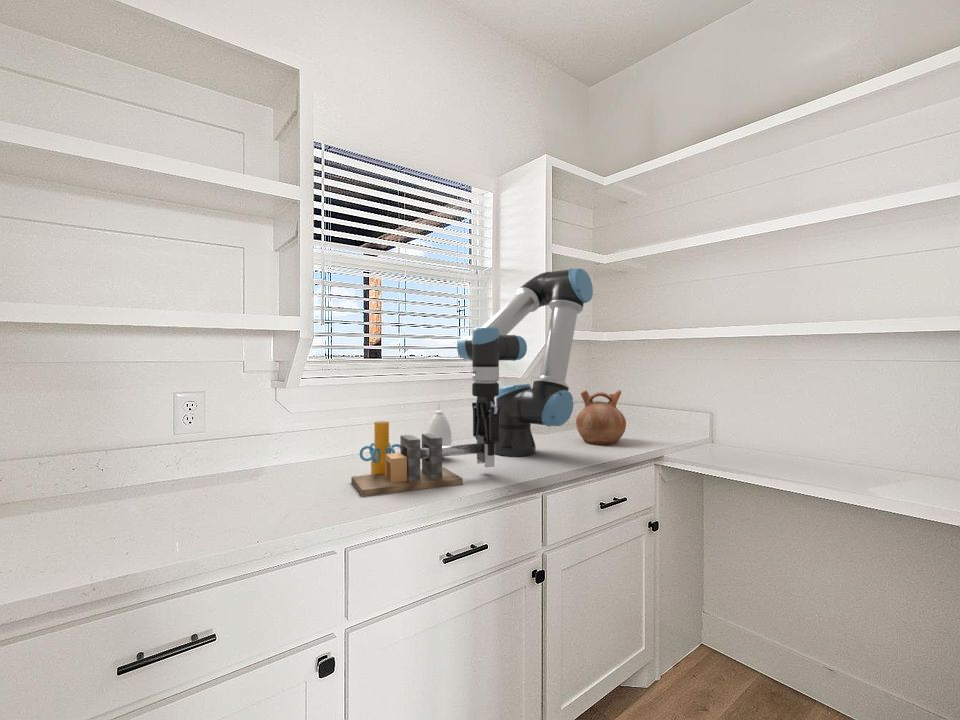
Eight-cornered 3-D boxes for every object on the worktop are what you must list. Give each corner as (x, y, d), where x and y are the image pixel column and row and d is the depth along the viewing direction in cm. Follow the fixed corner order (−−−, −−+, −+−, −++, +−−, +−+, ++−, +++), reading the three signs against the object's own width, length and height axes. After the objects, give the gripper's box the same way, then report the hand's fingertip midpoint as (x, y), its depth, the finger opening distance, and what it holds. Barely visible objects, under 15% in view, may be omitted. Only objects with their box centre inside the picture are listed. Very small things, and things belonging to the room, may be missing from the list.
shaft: (486, 458, 144) (486, 433, 144) (493, 461, 140) (493, 436, 140) (410, 465, 135) (410, 439, 135) (416, 469, 131) (415, 442, 131)
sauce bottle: (442, 462, 157) (442, 404, 157) (422, 459, 161) (422, 403, 161) (455, 457, 164) (455, 402, 164) (436, 455, 168) (436, 401, 168)
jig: (443, 472, 144) (443, 430, 144) (462, 484, 131) (462, 438, 131) (351, 482, 133) (351, 437, 133) (362, 496, 120) (362, 446, 120)
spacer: (400, 475, 135) (399, 452, 135) (407, 480, 129) (406, 457, 129) (385, 476, 133) (385, 454, 133) (391, 482, 127) (391, 458, 127)
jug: (624, 439, 198) (624, 388, 198) (627, 447, 181) (627, 392, 180) (577, 437, 202) (577, 387, 202) (575, 445, 185) (575, 391, 184)
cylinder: (391, 482, 133) (391, 425, 133) (354, 480, 135) (354, 424, 135) (407, 471, 145) (407, 419, 145) (373, 469, 147) (373, 418, 147)
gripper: (461, 380, 148) (461, 459, 148) (487, 384, 132) (486, 473, 132) (484, 380, 151) (484, 457, 151) (512, 383, 135) (512, 470, 135)
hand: (485, 464), depth 142 cm, fingers closed on shaft, 4 cm apart
